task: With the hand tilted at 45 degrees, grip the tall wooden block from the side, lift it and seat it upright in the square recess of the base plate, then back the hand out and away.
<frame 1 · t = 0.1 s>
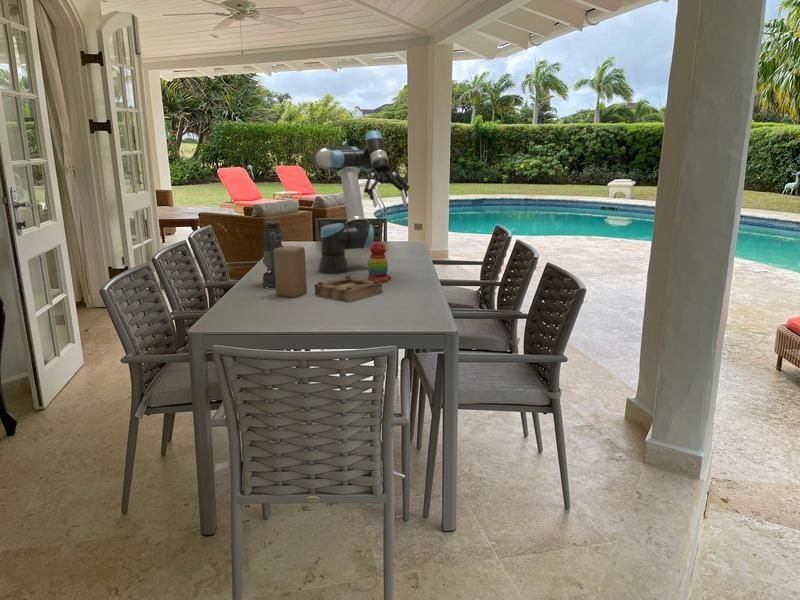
hand: (390, 205, 256), 36 cm above the table, tool tilted 35°, fingers open, 13 cm apart
stacking bear: (378, 280, 281), on the table
lantern: (277, 285, 272), on the table
base plate: (348, 294, 254), on the table
wooden block: (291, 295, 254), on the table
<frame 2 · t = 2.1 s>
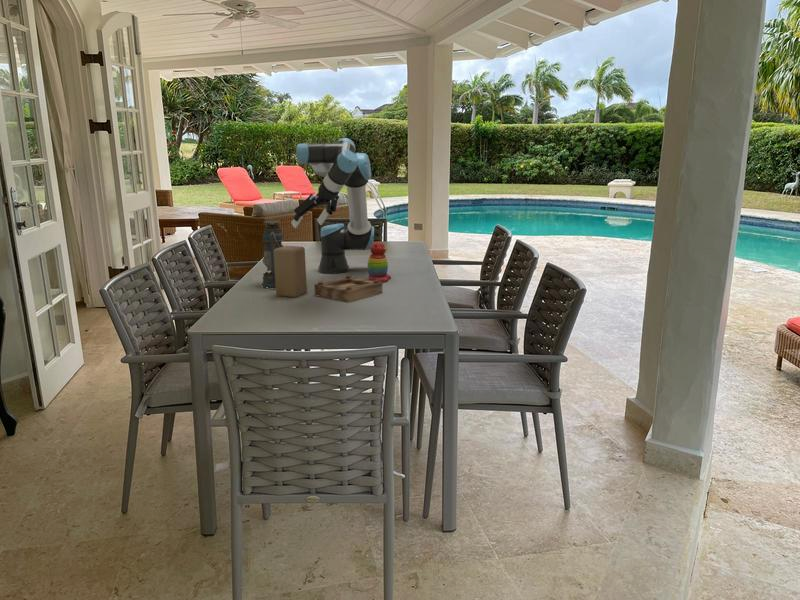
hand: (306, 224, 241), 30 cm above the table, tool tilted 45°, fingers open, 13 cm apart
nothing on the table moved.
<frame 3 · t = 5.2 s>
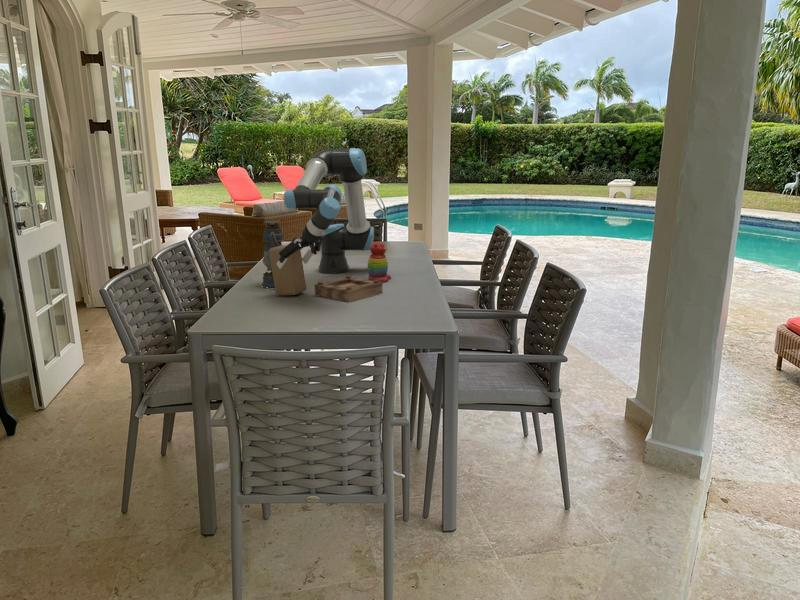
hand: (291, 263, 249), 13 cm above the table, tool tilted 45°, fingers open, 13 cm apart
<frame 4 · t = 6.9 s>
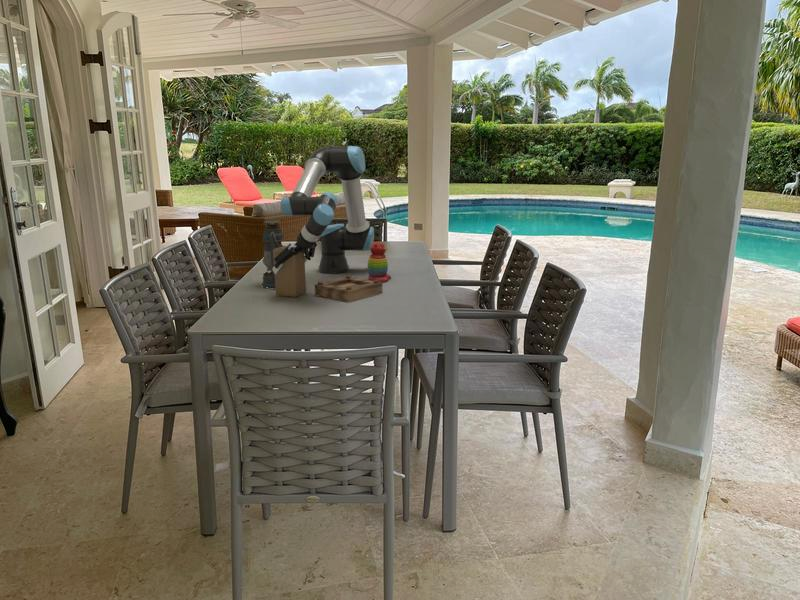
hand: (286, 269, 253), 11 cm above the table, tool tilted 45°, fingers closed on wooden block, 12 cm apart
wooden block: (291, 294, 254), on the table, touching gripper
everything else where it was.
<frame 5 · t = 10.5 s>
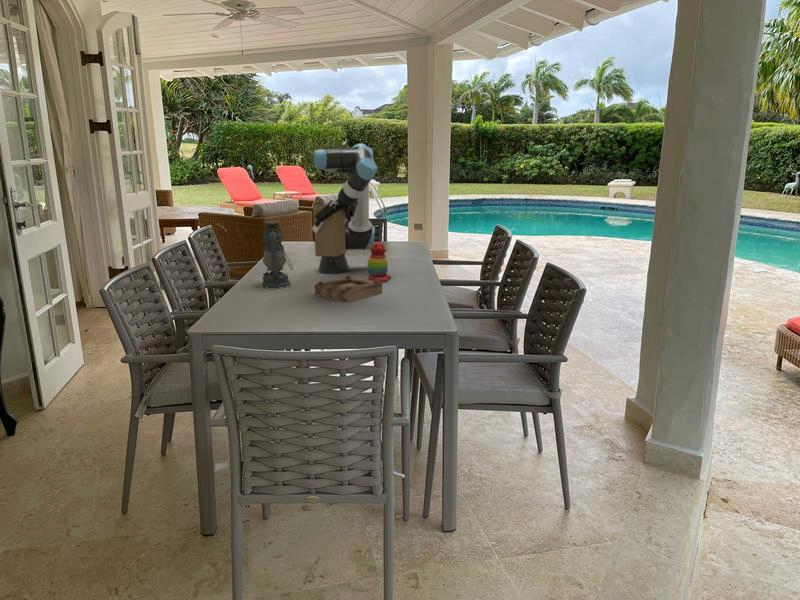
hand: (326, 229, 248), 27 cm above the table, tool tilted 45°, fingers closed on wooden block, 12 cm apart
wooden block: (331, 255, 249), point 17 cm above the table, touching gripper
everything else where it was.
when the fingers open (15 cm above the table, at t = 14.1 s): wooden block drops 1 cm, resting on base plate.
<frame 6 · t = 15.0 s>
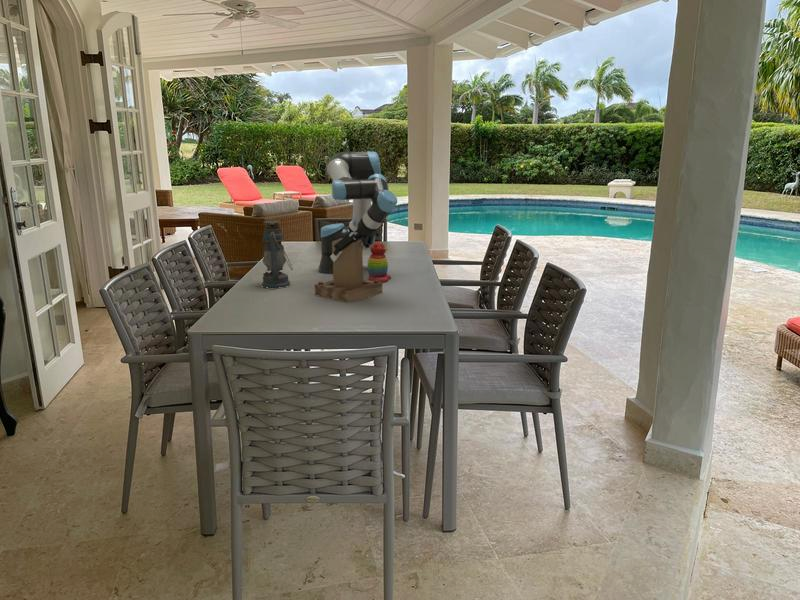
hand: (344, 256, 251), 16 cm above the table, tool tilted 45°, fingers open, 13 cm apart
wooden block: (348, 287, 253), point 3 cm above the table, touching base plate, gripper
everything else where it was.
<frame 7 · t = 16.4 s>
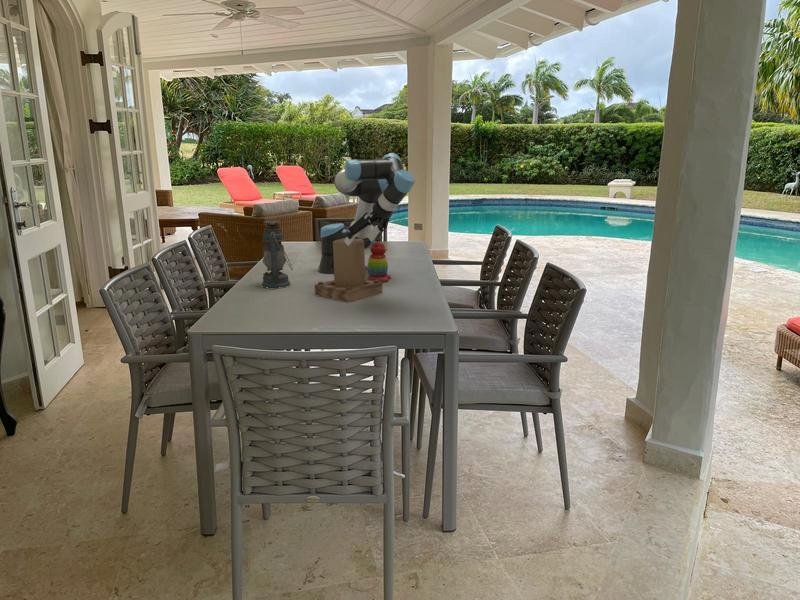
hand: (358, 241, 242), 23 cm above the table, tool tilted 45°, fingers open, 13 cm apart
wooden block: (350, 287, 253), point 3 cm above the table, touching base plate
everything else where it was.
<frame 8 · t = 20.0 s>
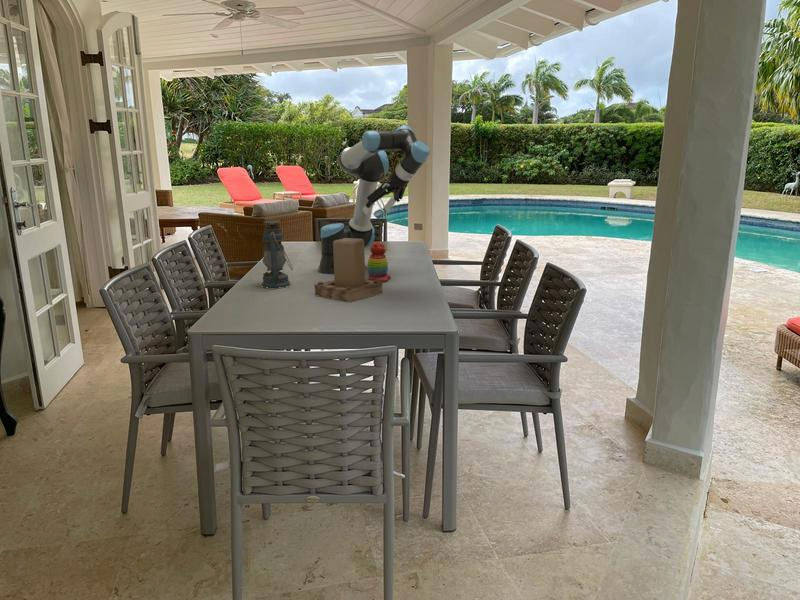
hand: (375, 210, 256), 34 cm above the table, tool tilted 45°, fingers open, 13 cm apart
nothing on the table moved.
at the end: wooden block 0.7 cm off-centre on the base plate, point 2.8 cm above the base plate's base; wooden block tilted 0°; the gripper is holding nothing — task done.
